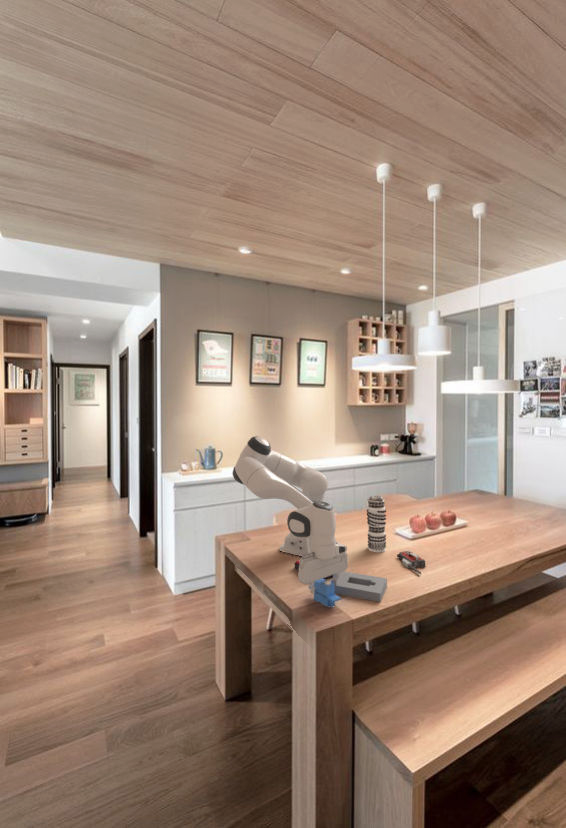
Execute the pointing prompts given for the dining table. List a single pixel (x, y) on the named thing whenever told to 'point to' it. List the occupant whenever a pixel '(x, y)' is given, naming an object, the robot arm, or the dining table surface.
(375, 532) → the white patterned cylinder
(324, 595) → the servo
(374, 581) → the chassis deck
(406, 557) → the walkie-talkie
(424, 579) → the dining table surface
